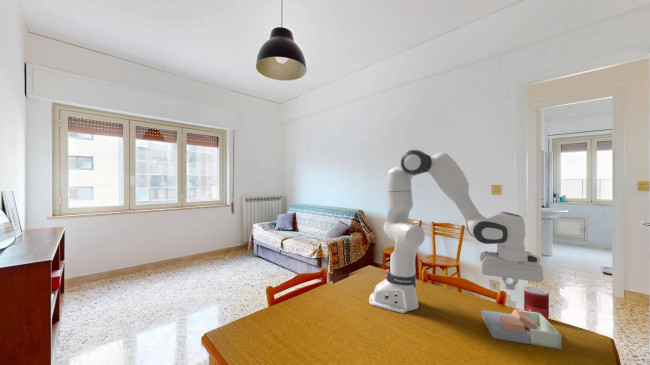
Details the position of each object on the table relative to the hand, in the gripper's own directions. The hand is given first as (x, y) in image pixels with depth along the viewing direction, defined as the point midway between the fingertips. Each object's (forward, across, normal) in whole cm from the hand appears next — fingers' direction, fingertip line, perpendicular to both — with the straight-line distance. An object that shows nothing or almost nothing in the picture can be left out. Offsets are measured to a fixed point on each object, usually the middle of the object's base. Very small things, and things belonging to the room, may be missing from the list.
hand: (509, 288), depth 99 cm
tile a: (+12, +5, 0) cm, 13 cm away
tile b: (+12, -1, -7) cm, 14 cm away
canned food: (+14, +14, +13) cm, 24 cm away
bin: (+14, +8, -3) cm, 17 cm away
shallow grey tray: (+15, -3, -3) cm, 15 cm away
